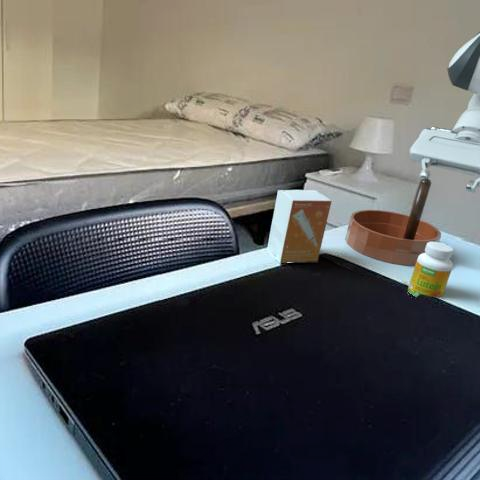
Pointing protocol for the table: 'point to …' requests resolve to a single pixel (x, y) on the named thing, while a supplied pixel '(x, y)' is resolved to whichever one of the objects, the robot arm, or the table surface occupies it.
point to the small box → (298, 225)
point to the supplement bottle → (431, 270)
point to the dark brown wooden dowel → (417, 209)
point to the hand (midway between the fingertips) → (445, 184)
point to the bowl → (388, 236)
